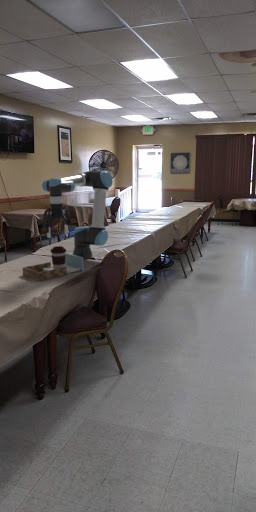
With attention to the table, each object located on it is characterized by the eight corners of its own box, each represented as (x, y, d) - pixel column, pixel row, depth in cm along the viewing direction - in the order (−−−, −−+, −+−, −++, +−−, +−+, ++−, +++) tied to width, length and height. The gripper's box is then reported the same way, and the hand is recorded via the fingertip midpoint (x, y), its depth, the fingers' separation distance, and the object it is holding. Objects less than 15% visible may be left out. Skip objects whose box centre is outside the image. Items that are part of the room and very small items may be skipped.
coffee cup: (67, 270, 254) (66, 248, 251) (52, 272, 251) (51, 249, 248) (65, 267, 263) (64, 245, 260) (50, 268, 260) (49, 246, 257)
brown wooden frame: (50, 269, 264) (49, 262, 263) (66, 274, 250) (66, 267, 249) (22, 275, 250) (22, 267, 249) (39, 281, 237) (38, 273, 235)
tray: (66, 265, 273) (66, 253, 271) (83, 270, 260) (83, 257, 258) (41, 271, 259) (40, 257, 257) (57, 276, 246) (57, 262, 244)
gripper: (68, 201, 259) (70, 232, 264) (35, 204, 242) (37, 238, 247) (75, 201, 253) (77, 234, 258) (42, 205, 236) (44, 239, 241)
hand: (57, 236), depth 252 cm, fingers open, 13 cm apart
